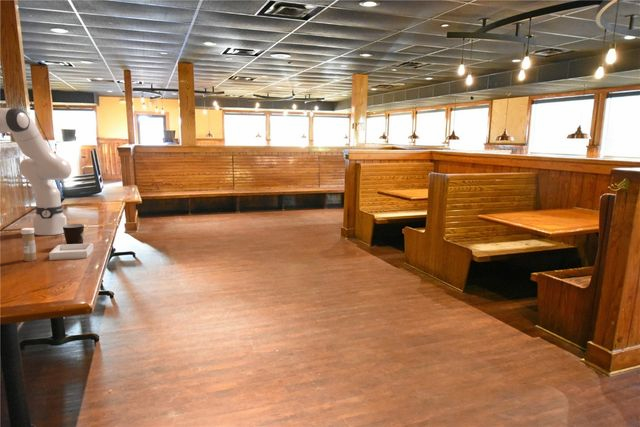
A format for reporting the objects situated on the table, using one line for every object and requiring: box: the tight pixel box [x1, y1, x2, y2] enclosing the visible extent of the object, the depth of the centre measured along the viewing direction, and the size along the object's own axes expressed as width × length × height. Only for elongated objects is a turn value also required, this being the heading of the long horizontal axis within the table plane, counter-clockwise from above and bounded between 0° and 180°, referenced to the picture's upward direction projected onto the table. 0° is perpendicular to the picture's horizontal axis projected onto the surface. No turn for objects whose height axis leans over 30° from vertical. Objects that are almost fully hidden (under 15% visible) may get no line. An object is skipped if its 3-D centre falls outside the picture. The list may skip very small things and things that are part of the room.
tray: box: [48, 242, 94, 261], centre depth 188 cm, size 14×14×3 cm
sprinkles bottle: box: [20, 227, 37, 262], centre depth 178 cm, size 5×5×13 cm
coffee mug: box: [63, 223, 85, 245], centre depth 202 cm, size 12×9×10 cm
